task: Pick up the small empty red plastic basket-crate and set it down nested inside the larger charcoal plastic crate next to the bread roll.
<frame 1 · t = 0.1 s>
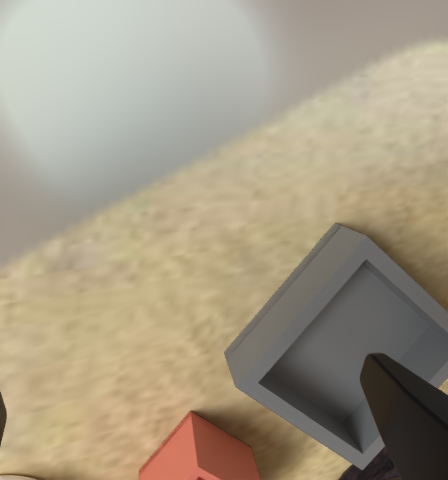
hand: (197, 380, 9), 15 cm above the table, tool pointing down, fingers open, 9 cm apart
big crate: (335, 333, 28), on the table
small crate: (196, 458, 28), on the table
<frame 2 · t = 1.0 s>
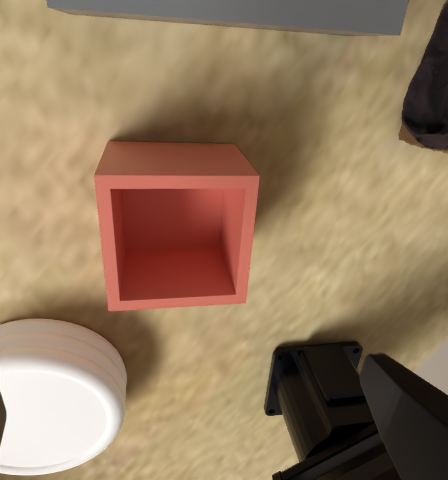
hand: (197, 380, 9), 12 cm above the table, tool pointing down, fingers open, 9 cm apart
white round container: (47, 373, 24), on the table
small crate: (173, 200, 19), on the table
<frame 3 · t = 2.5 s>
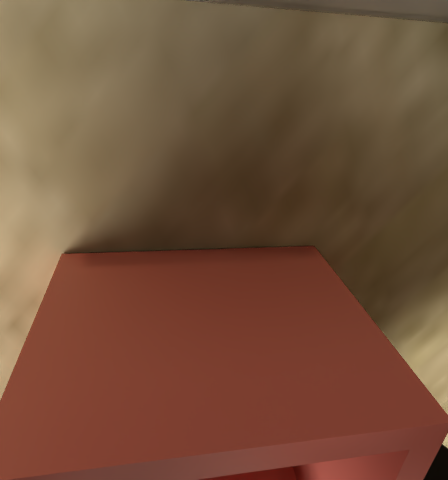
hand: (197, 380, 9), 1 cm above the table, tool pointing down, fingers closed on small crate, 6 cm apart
small crate: (192, 344, 10), on the table, touching gripper
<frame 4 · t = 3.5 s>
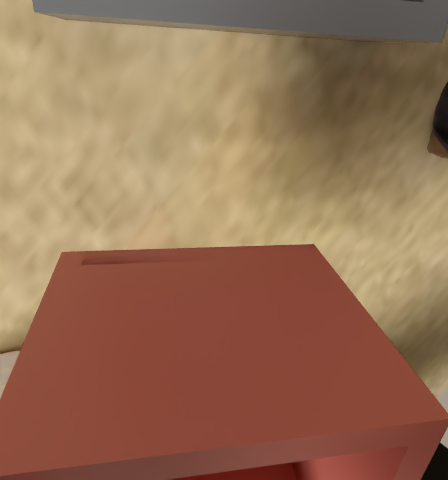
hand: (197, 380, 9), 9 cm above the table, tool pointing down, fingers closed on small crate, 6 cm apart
white round container: (41, 406, 22), on the table
small crate: (192, 343, 10), point 8 cm above the table, touching gripper
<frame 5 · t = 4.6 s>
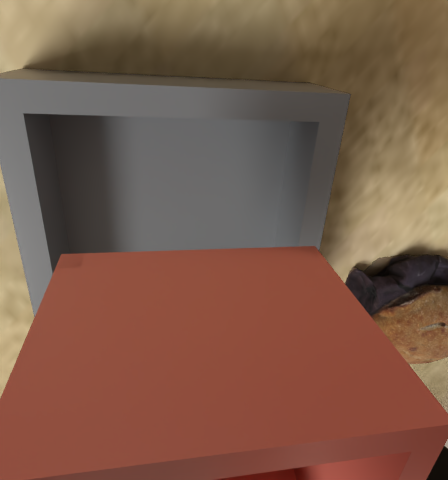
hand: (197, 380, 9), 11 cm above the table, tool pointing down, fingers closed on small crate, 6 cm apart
big crate: (175, 207, 19), on the table
bread roll: (401, 300, 25), on the table
small crate: (193, 345, 10), point 10 cm above the table, touching gripper
when the fingers open (5 cm above the table, at t = 6.0 s): small crate drops 3 cm, resting on big crate.
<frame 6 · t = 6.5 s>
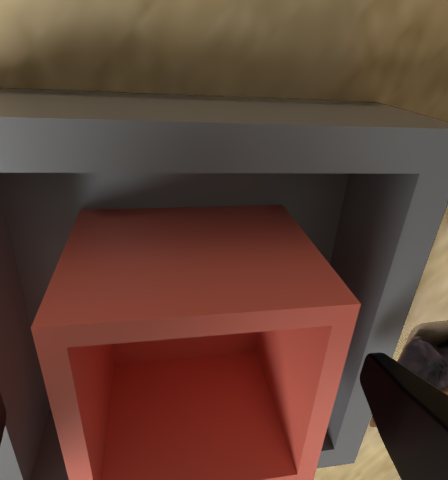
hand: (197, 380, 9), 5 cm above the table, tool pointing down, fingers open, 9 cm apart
big crate: (183, 273, 13), on the table
small crate: (186, 290, 13), point 1 cm above the table, touching big crate
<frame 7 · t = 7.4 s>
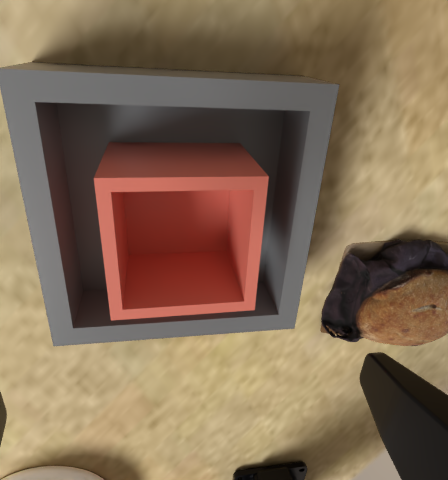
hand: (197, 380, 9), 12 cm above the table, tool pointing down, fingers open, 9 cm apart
big crate: (175, 195, 19), on the table
bread roll: (395, 285, 26), on the table
small crate: (177, 203, 19), point 1 cm above the table, touching big crate
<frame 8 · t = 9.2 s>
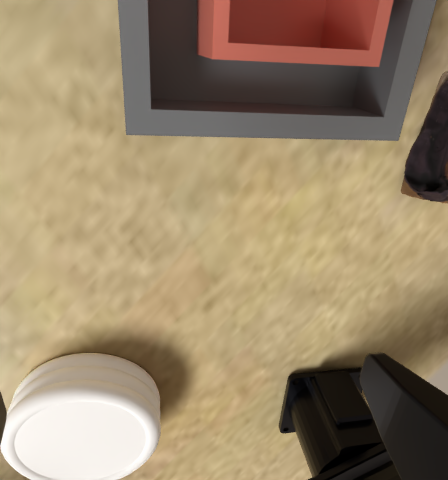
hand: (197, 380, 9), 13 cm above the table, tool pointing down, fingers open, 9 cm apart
white round container: (90, 398, 27), on the table
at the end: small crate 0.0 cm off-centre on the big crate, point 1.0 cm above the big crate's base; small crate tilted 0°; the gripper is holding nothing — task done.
